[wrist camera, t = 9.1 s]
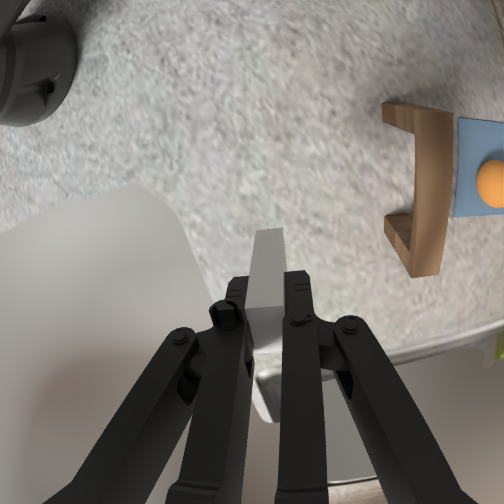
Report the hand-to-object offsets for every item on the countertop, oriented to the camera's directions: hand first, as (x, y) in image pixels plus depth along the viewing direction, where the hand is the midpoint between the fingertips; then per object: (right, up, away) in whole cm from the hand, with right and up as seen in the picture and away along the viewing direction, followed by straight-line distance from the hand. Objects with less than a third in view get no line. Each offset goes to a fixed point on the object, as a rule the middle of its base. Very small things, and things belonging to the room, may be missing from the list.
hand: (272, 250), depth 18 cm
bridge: (+14, +9, +11) cm, 20 cm away
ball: (+26, +8, +7) cm, 28 cm away
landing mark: (+28, +10, +9) cm, 31 cm away
